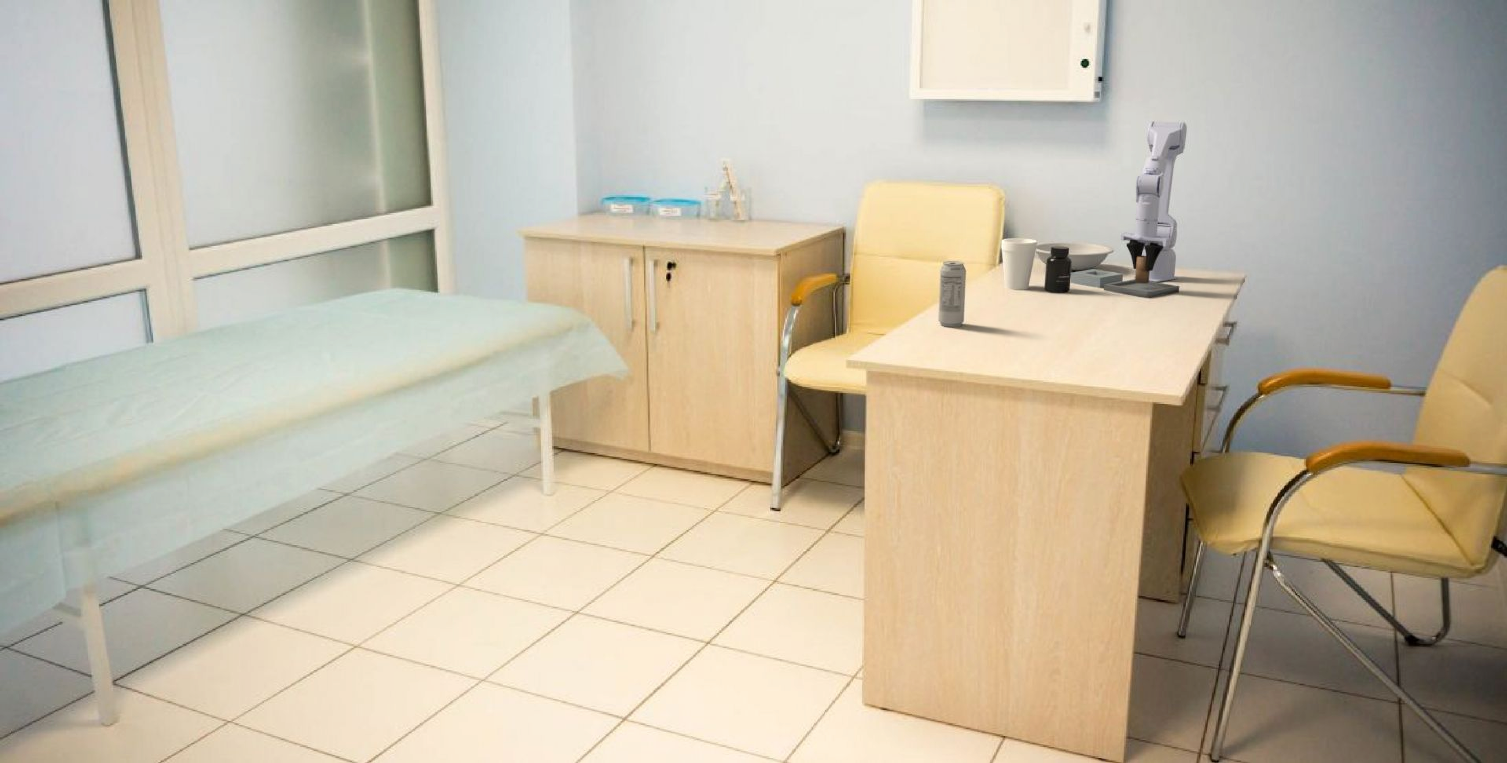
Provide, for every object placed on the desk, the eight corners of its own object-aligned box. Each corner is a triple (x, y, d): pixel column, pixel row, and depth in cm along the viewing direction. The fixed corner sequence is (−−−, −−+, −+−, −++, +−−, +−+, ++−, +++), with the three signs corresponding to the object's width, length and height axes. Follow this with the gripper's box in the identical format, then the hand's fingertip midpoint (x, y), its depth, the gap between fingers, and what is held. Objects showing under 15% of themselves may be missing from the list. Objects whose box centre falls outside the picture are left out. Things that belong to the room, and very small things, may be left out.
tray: (1135, 284, 348) (1136, 278, 348) (1178, 292, 337) (1179, 286, 337) (1103, 290, 340) (1104, 284, 340) (1146, 298, 329) (1147, 292, 329)
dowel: (1140, 280, 340) (1142, 255, 338) (1151, 282, 338) (1153, 256, 336) (1132, 282, 338) (1134, 256, 336) (1143, 283, 335) (1145, 258, 334)
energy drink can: (967, 323, 299) (970, 262, 295) (958, 328, 294) (960, 265, 290) (943, 321, 302) (946, 259, 298) (934, 325, 297) (936, 263, 293)
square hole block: (1093, 278, 357) (1094, 269, 356) (1122, 283, 349) (1123, 273, 348) (1070, 282, 351) (1071, 272, 350) (1099, 287, 343) (1100, 277, 343)
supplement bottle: (1063, 294, 334) (1066, 250, 331) (1040, 291, 338) (1042, 247, 335) (1074, 290, 340) (1076, 246, 337) (1050, 287, 344) (1053, 244, 341)
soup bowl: (1013, 266, 378) (1014, 244, 376) (1076, 260, 387) (1078, 239, 386) (1063, 279, 356) (1065, 256, 355) (1129, 273, 366) (1131, 250, 365)
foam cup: (1032, 284, 348) (1034, 238, 345) (1036, 291, 339) (1038, 243, 336) (997, 284, 349) (1000, 238, 345) (1000, 290, 340) (1003, 243, 337)
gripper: (1115, 217, 337) (1111, 267, 340) (1160, 223, 326) (1156, 274, 329) (1131, 215, 341) (1127, 264, 344) (1177, 221, 330) (1172, 272, 333)
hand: (1142, 269), depth 337 cm, fingers closed on dowel, 3 cm apart
